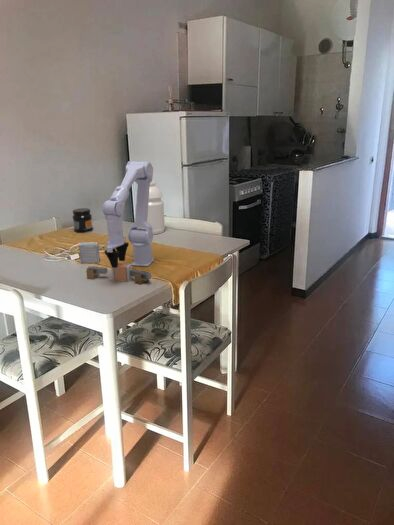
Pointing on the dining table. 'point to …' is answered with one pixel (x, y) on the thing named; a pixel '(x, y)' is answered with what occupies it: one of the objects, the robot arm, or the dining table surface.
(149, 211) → the bottle
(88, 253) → the medicine box
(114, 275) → the block
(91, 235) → the dining table surface
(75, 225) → the supplement container
